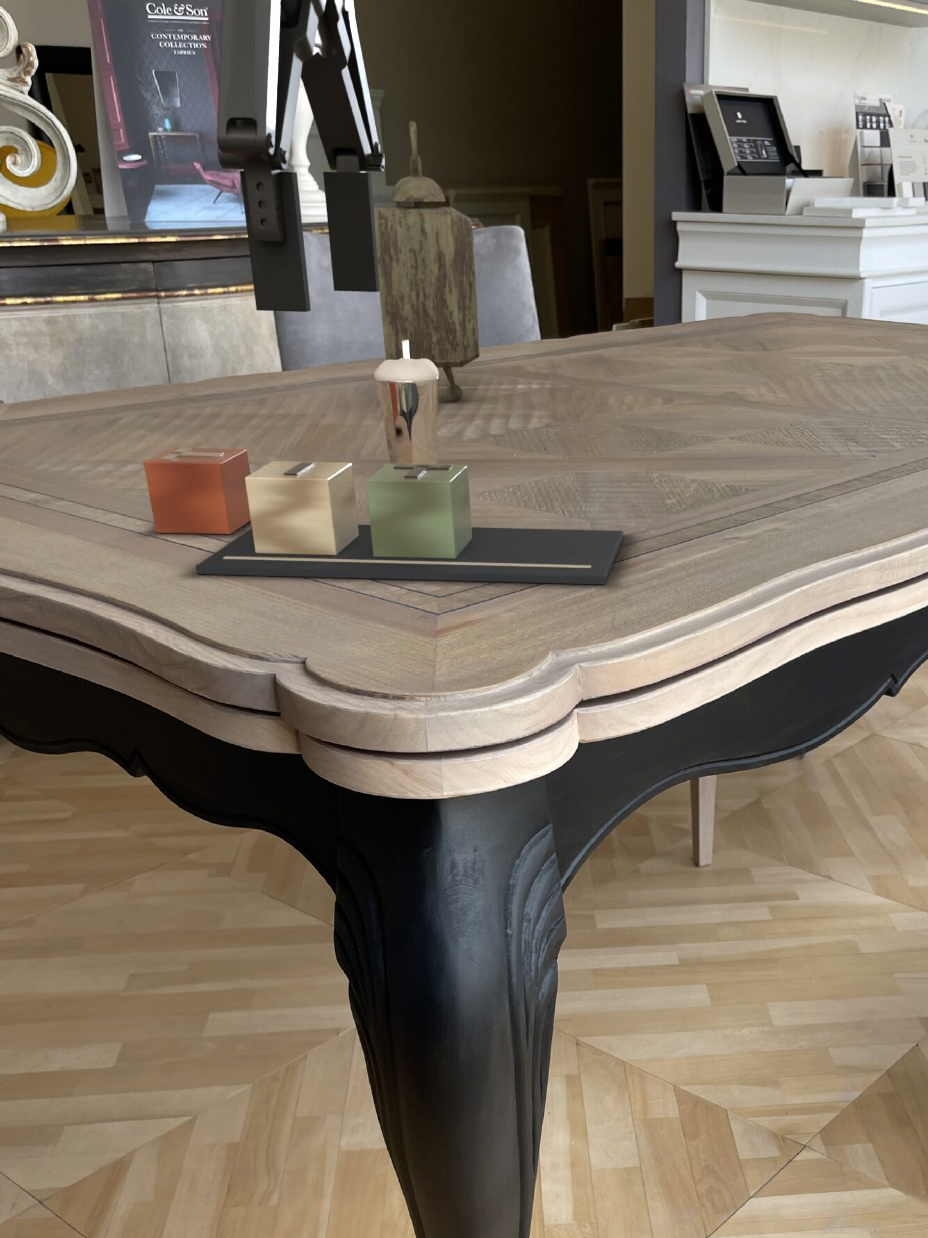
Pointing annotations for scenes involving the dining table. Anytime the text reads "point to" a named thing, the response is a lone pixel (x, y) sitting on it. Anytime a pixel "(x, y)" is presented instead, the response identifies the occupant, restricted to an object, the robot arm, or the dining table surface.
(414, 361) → the milkshake
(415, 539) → the frosted jade cube
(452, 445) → the dining table surface
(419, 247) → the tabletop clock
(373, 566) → the word mat
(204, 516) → the copper orange cube
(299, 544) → the slotted beige cube
